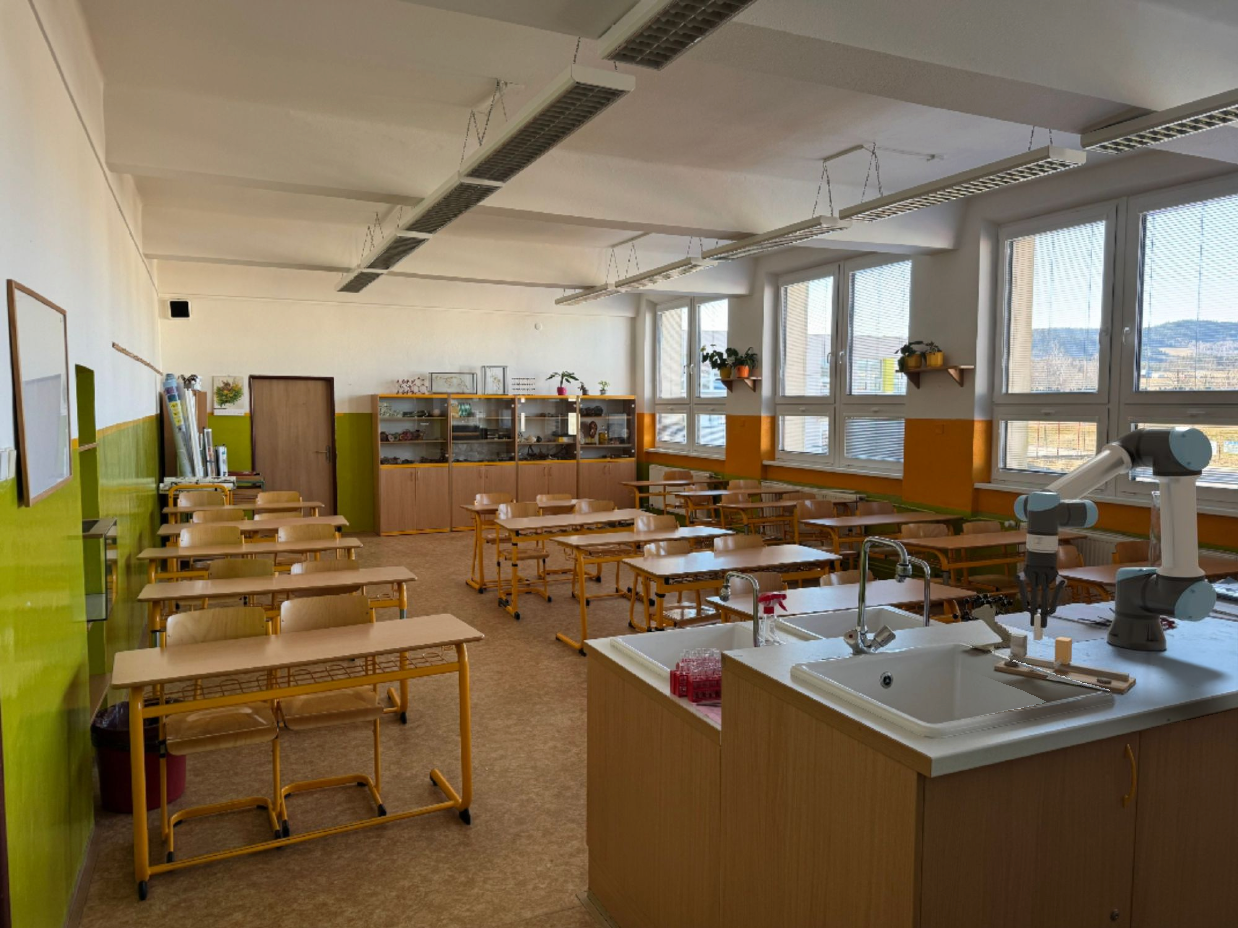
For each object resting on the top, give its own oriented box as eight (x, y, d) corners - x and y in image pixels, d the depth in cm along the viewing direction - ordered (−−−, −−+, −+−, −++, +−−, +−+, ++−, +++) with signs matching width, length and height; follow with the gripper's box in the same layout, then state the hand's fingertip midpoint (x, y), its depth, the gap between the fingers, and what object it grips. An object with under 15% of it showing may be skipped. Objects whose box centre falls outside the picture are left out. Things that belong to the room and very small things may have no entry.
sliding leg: (1058, 661, 228) (1059, 636, 228) (1071, 663, 226) (1072, 638, 226) (1048, 668, 222) (1049, 642, 221) (1061, 670, 220) (1062, 644, 219)
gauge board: (1010, 660, 238) (1011, 630, 238) (1135, 682, 218) (1136, 650, 217) (994, 669, 228) (995, 639, 228) (1123, 694, 208) (1124, 660, 208)
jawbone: (1017, 666, 251) (985, 649, 244) (993, 665, 257) (962, 648, 251) (1023, 620, 256) (992, 602, 249) (1000, 620, 262) (969, 602, 255)
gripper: (1011, 549, 230) (1007, 637, 231) (1064, 554, 221) (1060, 646, 222) (1020, 546, 236) (1016, 632, 237) (1072, 552, 227) (1068, 641, 228)
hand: (1038, 639), depth 229 cm, fingers closed
